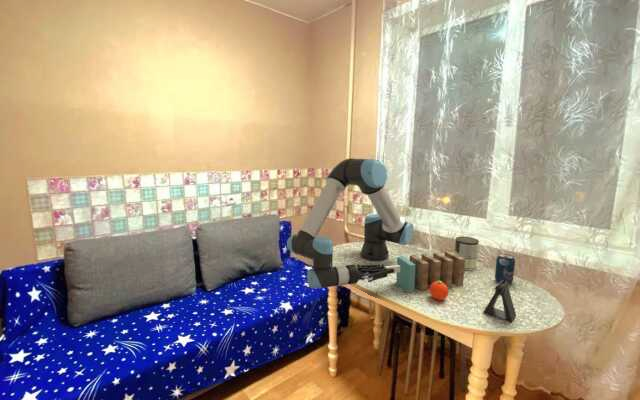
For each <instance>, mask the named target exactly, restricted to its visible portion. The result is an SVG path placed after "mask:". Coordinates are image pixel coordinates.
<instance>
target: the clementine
mask: <svg viewBox="0 0 640 400" xmlns="http://www.w3.org/2000/svg"><path fill="white" fill-rule="evenodd" d="M448 288H449V287H447V286H446V285H445V284H444V283H443V282H442V281H436V282H434V283H432V284H431V286H429V293H430V295H431V297H433V299H435V300H437V301H438V300H439V301H442V300H444V299H446V298H447V296H448V295H449V289H448Z"/></svg>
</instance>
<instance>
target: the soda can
mask: <svg viewBox="0 0 640 400" xmlns="http://www.w3.org/2000/svg"><path fill="white" fill-rule="evenodd" d="M515 267H516V260H515V256H514V255H512V254H509V253H508V254H507V253H499V254H498V256H497V258H496V264H495V272H494V279H495V281H496V282H497V283H498V284H499V283H500V281H501V280H504V281H503V282H502V283H501V285H503V284H504V283H505V282H506V281H508V282H509V285H511V284H512V283H513V282H514V275H515Z"/></svg>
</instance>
